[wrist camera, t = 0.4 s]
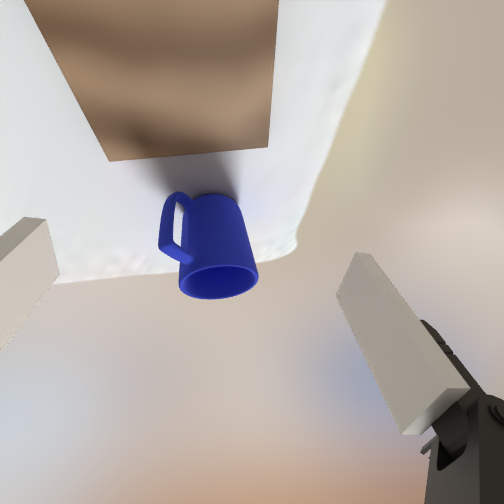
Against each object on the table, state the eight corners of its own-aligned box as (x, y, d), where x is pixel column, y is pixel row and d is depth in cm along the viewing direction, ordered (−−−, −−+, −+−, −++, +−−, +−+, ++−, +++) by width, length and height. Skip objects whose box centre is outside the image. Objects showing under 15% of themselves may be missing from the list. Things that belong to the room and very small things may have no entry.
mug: (195, 149, 27) (202, 236, 22) (257, 211, 36) (272, 282, 31) (134, 188, 30) (127, 273, 25) (205, 236, 39) (211, 305, 34)
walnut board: (-98, -268, 10) (-120, -271, 9) (288, -254, 11) (298, -256, 11) (111, 150, 26) (109, 161, 25) (264, 136, 27) (267, 147, 26)
